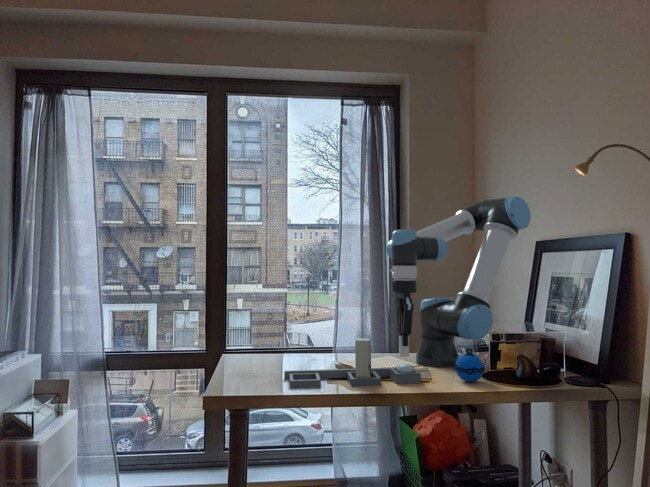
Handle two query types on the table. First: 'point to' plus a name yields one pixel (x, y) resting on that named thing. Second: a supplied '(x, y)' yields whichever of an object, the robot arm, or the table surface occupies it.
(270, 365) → the table surface
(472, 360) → the ornament
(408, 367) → the release button
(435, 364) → the robot arm
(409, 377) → the button collar
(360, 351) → the box
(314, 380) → the panel
